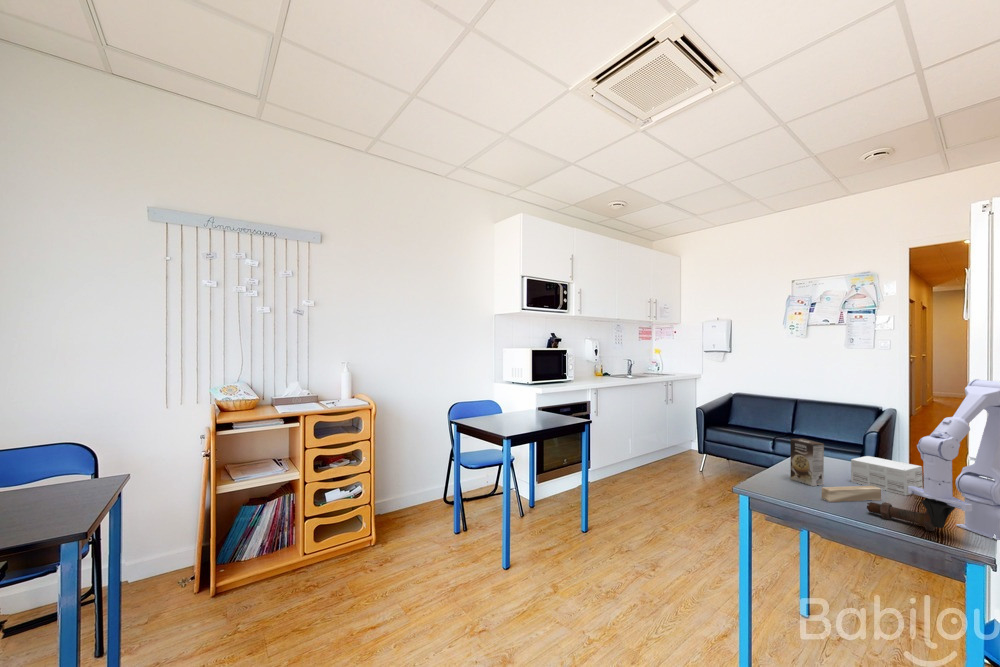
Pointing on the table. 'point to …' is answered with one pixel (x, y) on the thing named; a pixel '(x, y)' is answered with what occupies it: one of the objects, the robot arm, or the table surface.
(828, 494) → the bar
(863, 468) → the supplement box
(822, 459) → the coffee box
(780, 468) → the table surface
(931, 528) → the bolt
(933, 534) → the table surface
